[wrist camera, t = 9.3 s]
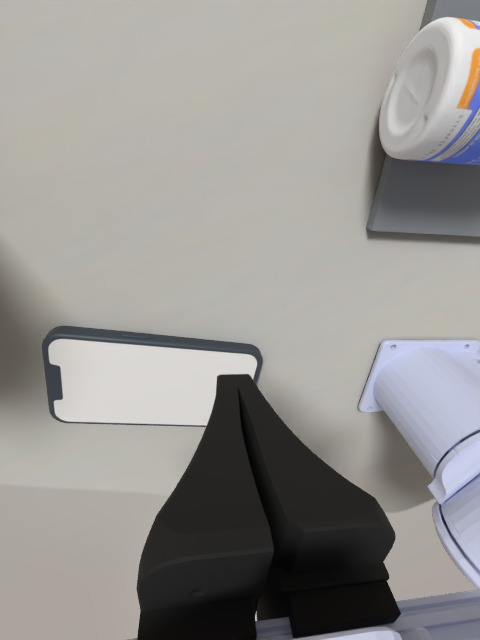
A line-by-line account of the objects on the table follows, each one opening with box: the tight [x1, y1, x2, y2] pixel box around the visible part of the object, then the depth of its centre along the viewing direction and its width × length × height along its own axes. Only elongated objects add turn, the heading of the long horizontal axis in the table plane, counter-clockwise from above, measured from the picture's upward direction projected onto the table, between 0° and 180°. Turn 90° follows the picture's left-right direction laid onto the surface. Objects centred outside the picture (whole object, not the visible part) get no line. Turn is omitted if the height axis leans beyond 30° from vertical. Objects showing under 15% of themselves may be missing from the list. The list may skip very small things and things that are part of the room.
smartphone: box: [42, 326, 262, 427], centre depth 25 cm, size 9×2×16 cm
